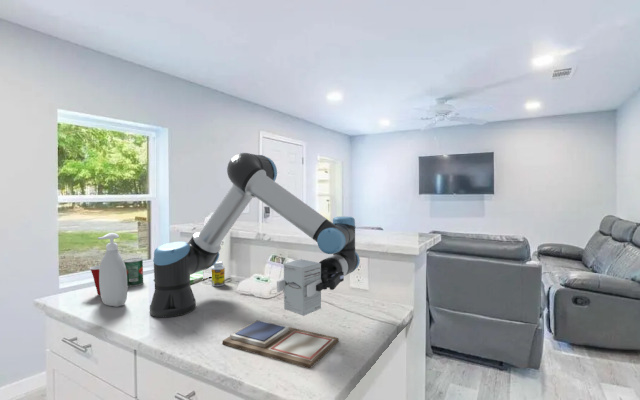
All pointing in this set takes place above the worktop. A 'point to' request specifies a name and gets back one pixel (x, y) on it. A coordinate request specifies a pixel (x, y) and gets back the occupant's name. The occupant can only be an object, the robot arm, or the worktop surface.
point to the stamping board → (282, 343)
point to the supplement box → (301, 286)
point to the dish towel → (195, 277)
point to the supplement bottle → (218, 274)
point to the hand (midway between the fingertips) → (292, 288)
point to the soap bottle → (112, 274)
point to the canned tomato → (134, 271)
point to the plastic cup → (96, 277)
